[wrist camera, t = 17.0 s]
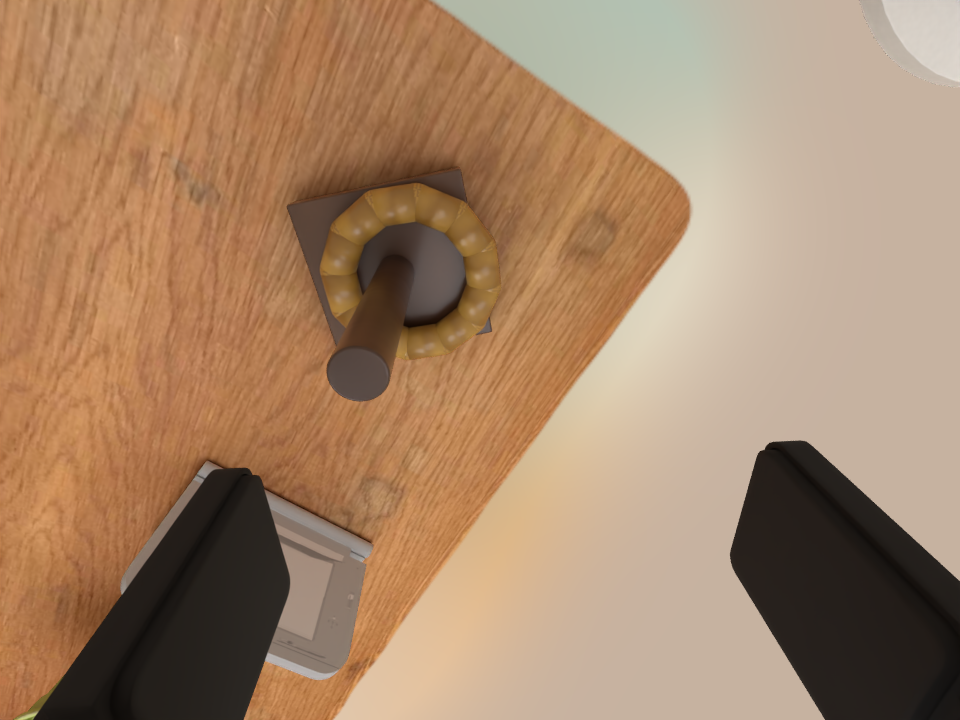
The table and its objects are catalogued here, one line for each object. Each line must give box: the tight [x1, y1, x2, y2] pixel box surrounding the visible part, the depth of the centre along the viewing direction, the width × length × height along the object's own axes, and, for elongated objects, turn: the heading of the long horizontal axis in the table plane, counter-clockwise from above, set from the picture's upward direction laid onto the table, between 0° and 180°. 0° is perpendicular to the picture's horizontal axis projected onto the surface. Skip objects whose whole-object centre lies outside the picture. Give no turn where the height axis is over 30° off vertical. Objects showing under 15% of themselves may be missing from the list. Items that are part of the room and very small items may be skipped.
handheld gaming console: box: [121, 461, 373, 680], centre depth 31 cm, size 13×9×10 cm
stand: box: [287, 167, 492, 401], centre depth 21 cm, size 9×9×14 cm
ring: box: [320, 183, 501, 360], centre depth 25 cm, size 9×9×2 cm
